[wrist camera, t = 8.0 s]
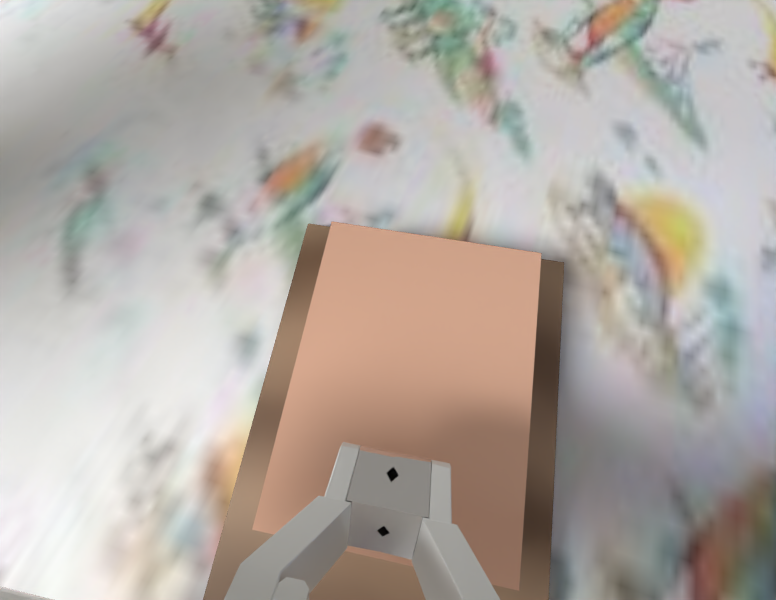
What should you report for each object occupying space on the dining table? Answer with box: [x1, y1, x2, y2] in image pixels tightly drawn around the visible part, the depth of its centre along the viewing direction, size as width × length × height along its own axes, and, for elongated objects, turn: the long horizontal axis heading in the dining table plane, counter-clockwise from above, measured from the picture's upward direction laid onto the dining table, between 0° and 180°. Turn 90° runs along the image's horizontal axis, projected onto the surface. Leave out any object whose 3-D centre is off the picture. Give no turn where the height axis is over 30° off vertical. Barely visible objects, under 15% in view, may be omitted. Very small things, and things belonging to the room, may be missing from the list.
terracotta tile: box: [252, 222, 541, 591], centre depth 15 cm, size 3×9×12 cm
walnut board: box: [203, 224, 564, 600], centre depth 16 cm, size 21×13×1 cm, turn 170°
